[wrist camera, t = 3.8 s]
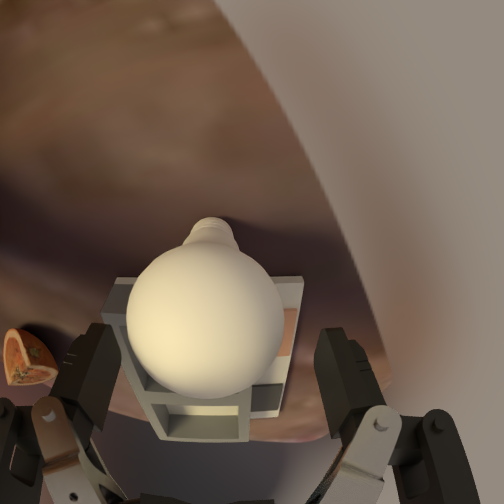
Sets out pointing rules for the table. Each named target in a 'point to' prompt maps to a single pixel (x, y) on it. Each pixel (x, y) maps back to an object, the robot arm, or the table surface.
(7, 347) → the fruit slice
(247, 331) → the lightbulb
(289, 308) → the socket board
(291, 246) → the table surface
